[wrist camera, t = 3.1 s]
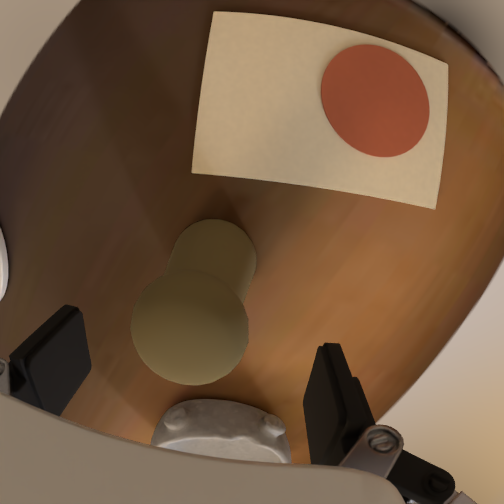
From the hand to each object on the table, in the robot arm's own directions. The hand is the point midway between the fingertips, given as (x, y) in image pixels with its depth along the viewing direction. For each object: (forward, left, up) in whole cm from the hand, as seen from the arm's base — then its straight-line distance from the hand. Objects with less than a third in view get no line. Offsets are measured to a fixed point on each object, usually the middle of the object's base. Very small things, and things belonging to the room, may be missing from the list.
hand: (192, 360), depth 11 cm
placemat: (+6, +12, -12) cm, 18 cm away
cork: (-1, 0, -12) cm, 12 cm away
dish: (+1, -19, -12) cm, 22 cm away
